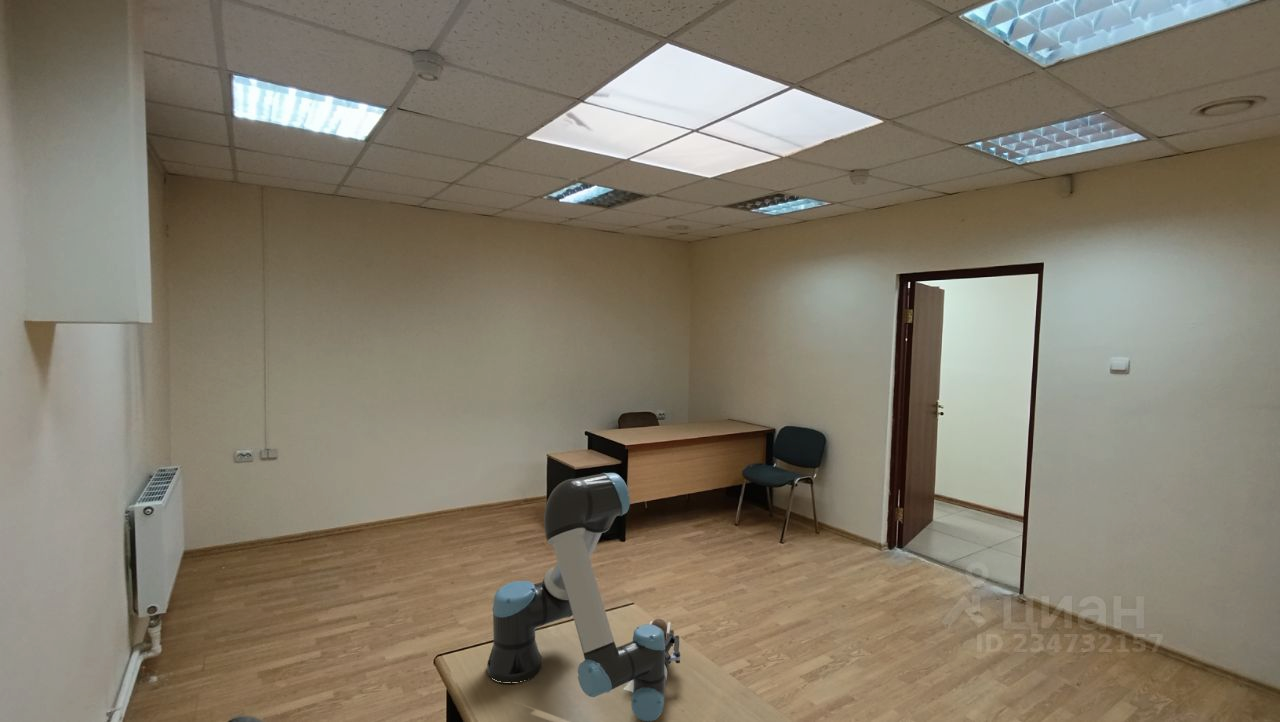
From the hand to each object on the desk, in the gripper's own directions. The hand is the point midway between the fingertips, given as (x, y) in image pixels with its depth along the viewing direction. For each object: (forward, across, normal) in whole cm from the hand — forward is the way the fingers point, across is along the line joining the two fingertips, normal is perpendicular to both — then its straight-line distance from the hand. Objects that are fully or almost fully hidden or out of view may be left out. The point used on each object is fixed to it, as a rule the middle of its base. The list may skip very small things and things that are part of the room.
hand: (660, 626), depth 170 cm
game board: (-11, -2, -9) cm, 15 cm away
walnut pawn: (-5, 0, -6) cm, 8 cm away
